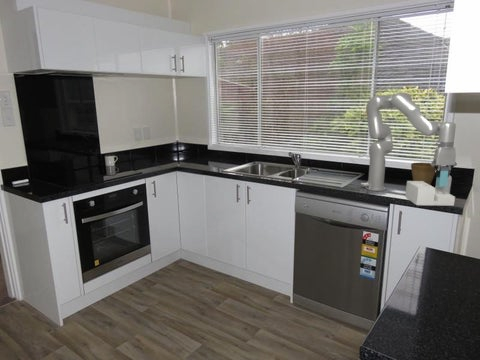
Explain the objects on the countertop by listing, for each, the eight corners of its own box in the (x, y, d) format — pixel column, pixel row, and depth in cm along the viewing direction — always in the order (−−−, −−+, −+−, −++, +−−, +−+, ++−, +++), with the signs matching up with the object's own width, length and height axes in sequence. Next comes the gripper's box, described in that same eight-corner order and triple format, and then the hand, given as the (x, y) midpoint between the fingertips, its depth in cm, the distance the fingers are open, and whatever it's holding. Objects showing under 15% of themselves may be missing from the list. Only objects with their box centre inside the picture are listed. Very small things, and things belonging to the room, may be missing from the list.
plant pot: (421, 184, 237) (423, 161, 233) (439, 189, 223) (442, 165, 219) (403, 186, 232) (405, 163, 229) (421, 192, 219) (423, 167, 215)
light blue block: (439, 186, 195) (441, 167, 193) (435, 184, 199) (437, 166, 197) (446, 186, 195) (448, 167, 193) (443, 184, 199) (445, 166, 196)
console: (416, 205, 193) (418, 188, 191) (405, 197, 209) (407, 181, 206) (453, 205, 192) (456, 188, 189) (439, 197, 207) (441, 181, 205)
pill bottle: (445, 197, 207) (448, 172, 204) (432, 194, 214) (434, 170, 210) (451, 194, 212) (454, 170, 208) (438, 192, 218) (441, 168, 215)
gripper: (433, 145, 189) (429, 178, 193) (465, 145, 188) (461, 178, 192) (426, 144, 196) (423, 175, 200) (457, 143, 195) (454, 175, 199)
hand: (442, 176), depth 196 cm, fingers closed on light blue block, 4 cm apart
